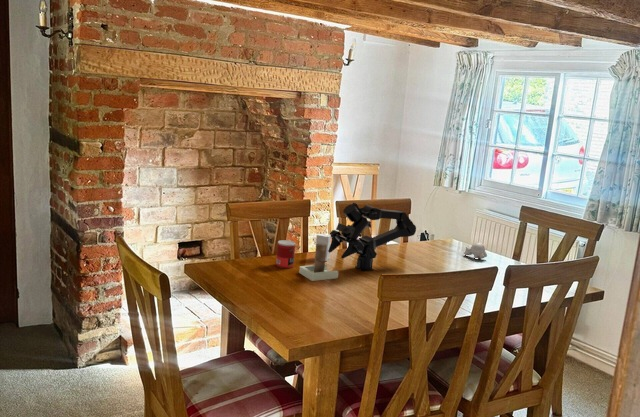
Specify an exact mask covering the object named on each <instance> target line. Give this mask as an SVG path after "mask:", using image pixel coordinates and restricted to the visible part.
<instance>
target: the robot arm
mask: <svg viewBox="0 0 640 417" xmlns="http://www.w3.org/2000/svg"><path fill="white" fill-rule="evenodd" d="M343 214H344V215H345V216H346V217H347V219H348V220H349V221H350V222H351V223H352V224H351V225H350V224H347V225H345V224H343V223H340V222H338V224H337V226H336V228H335V229H332V230H331V231H330V232H329V235H331V243H330V248H329V250H328V252H329V253H332V252H333V251H335V250H337V248H338V247H340V246H341V245H342V243H343V242H345V243H348V246H347V247H346V249H345V250H344V252H343V253H342V255H341V257H340V258H341V259H345V258H347V257H350V256H352V255H354V254H357V255H358V257H357V260H356V265H355V268H356V269H358V270H360V271H361V272H366V271H367V272H368V271H374V270H375V268H373V261H374V259H375V258H376V257H377V254H378V253H377V251H376V248H378V247H380V246H383V245H385V244H388V243H389V242H392V241H395V240H397V239H398V238H409V237H412V236H414V235H415V234H416V231H417V227H416V225H415V223H414V222H413V221H412V220H411V219H410V217H409V216H408V215H407V212H405V211H402V210H393V209H384V208H378V207H375V206H372V205H369V204H366V205H364V206H363V207H359V205H358V203H356V202H352V204H348V205H346V206H345V207H343ZM368 219H369V220H368ZM381 219H388V220H395V223H396V225H395V227H394V228H392V229H389V230H387V231H384V232H383V233H380V234H378V235H375V236H372V237H371V236H369V235H362V233H363V232H364V230H365V229H366V228H370V229H371V228H372V224H371V223H372V221H377V220H378V221H379V220H381ZM370 220H371V221H370Z"/></svg>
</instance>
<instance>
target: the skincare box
mask: <svg viewBox="0 0 640 417" xmlns="http://www.w3.org/2000/svg"><path fill="white" fill-rule="evenodd" d="M331 242H332V237H331V235H330V234H326V233H325V234H324V233H318V234H316V242H315V245H316V244H318V243H323V244H326V245H327V247H326V257H325V262H328V261H329V260H330V253H331V252H330V253H329V252H328V250H329V248H330V245H331ZM315 254H316V250H315Z"/></svg>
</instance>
